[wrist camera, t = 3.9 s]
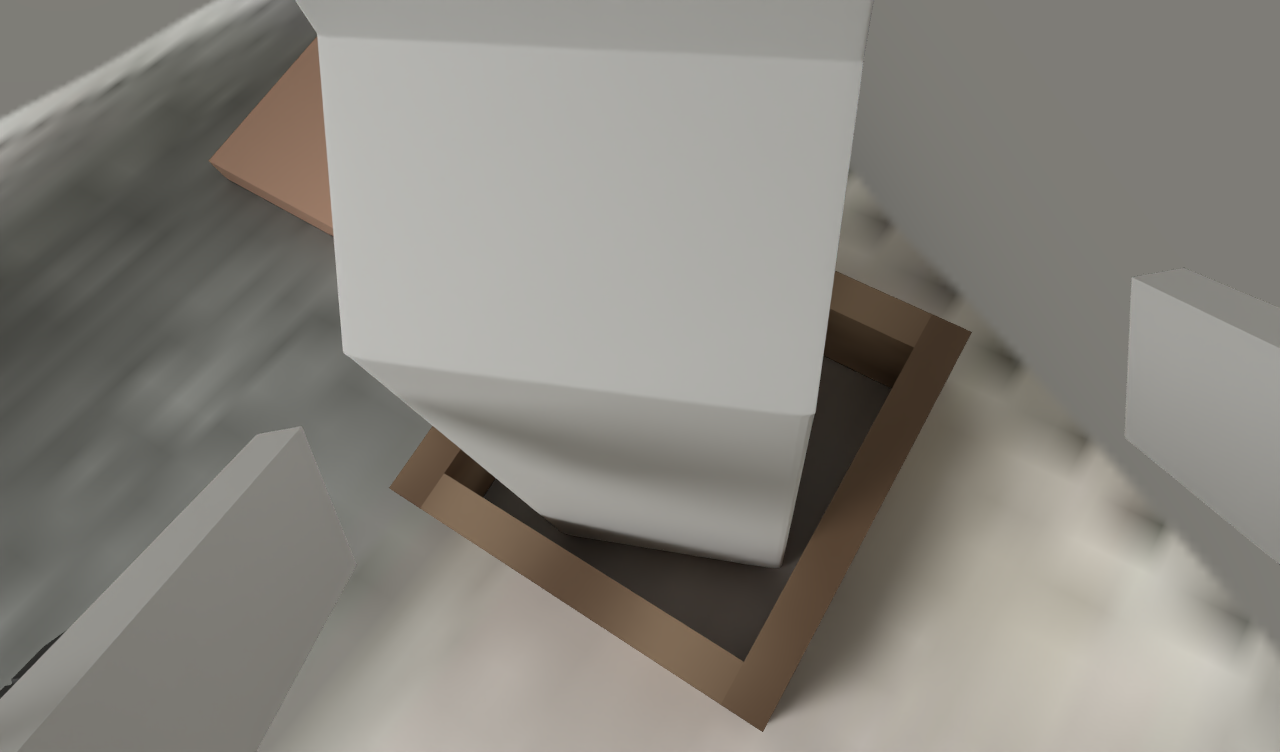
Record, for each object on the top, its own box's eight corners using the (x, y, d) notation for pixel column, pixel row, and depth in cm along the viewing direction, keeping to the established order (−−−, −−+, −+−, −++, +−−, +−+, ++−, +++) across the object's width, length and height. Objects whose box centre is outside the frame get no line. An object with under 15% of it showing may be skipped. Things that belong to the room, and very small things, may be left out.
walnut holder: (433, 512, 27) (389, 487, 24) (627, 227, 30) (612, 171, 27) (761, 726, 23) (762, 732, 20) (945, 376, 26) (971, 332, 23)
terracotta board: (226, 178, 33) (208, 161, 32) (411, -38, 37) (401, -61, 36) (470, 311, 30) (459, 296, 28) (653, 57, 33) (650, 35, 32)
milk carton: (781, 571, 25) (845, 278, 7) (560, 534, 26) (164, 212, 9) (806, 359, 27) (900, -245, 10) (603, 335, 28) (361, -234, 11)
